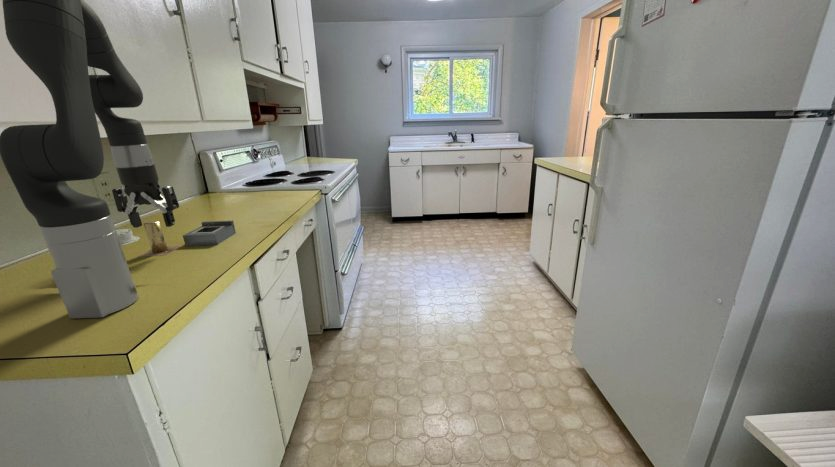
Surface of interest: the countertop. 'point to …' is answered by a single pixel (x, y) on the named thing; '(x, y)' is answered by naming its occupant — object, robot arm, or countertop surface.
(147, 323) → the countertop surface
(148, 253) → the brown square panel
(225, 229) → the grey square frame
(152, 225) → the translucent brown rounded cylinder
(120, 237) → the mechanical component
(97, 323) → the countertop surface
